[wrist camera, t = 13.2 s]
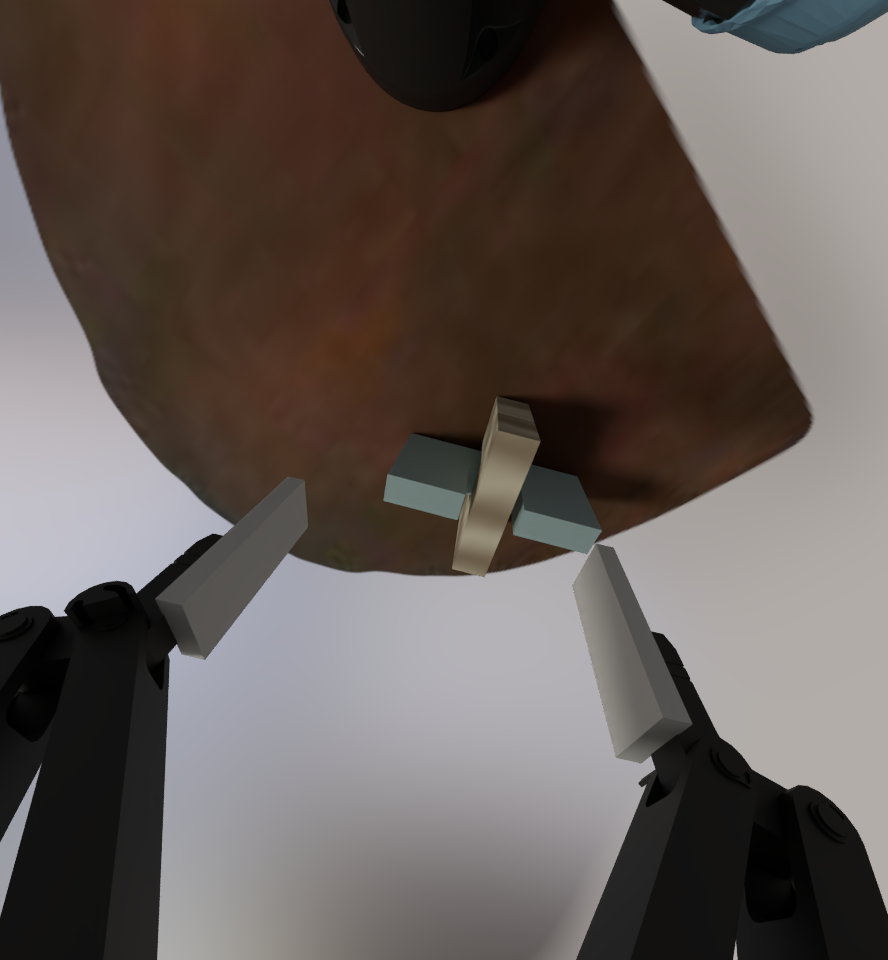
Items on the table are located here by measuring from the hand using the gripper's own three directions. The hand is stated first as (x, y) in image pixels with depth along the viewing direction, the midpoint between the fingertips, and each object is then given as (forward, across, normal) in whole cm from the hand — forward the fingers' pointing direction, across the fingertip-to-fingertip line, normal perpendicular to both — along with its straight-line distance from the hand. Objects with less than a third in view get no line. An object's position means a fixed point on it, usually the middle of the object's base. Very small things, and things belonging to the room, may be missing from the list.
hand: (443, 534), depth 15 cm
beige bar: (+23, +4, -8) cm, 25 cm away
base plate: (+23, +4, -8) cm, 25 cm away
